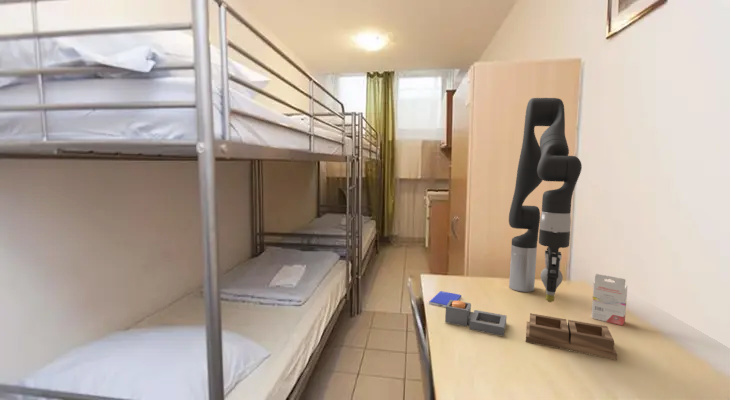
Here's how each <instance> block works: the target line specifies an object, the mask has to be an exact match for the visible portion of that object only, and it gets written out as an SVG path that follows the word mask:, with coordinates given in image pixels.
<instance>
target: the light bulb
mask: <svg viewBox="0 0 730 400" xmlns="http://www.w3.org/2000/svg"><path fill="white" fill-rule="evenodd" d="M550 273H555V270H550ZM558 275H559V277H558V279H557V282H556V290H557V289H558V287H559V286H560V285H561V284H562V283H563V278H564V277H563V276H564V275H563V273H562V271H561V270H559V271H558ZM540 280H541V282H542V284H543V286H544V287H545V300H546V301H547V302H549V303H551V302H554V301H555V295H556V292H549V291H547V269H546V267H544V268H543V269H542V271H541V272H540Z"/></svg>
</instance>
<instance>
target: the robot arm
mask: <svg viewBox="0 0 730 400" xmlns="http://www.w3.org/2000/svg"><path fill="white" fill-rule="evenodd" d="M564 105H565V104H564V102H563V100H562V99H561V98H557V97H532V98H530V99H529V100H528V102H527V105H526V109H525V116H524V117H525V118H524V125H523V126H524V127H523V137H522V143H521V149H520V155H519V159H518V165H517V172H516V178H515V188H514V192H513V197H512V200H511V204H510V208H509V214H508V224H509V226H510V227H511V228H513V229H518V230H521V229H522V230H527V231H526V232H524V233H522V234H520V235H517V236H513V237H512V238H511V247H510V248H511V250H510V263H509V264H510V265H509V266H510V267H509V279H508V281H509V283H508V284H509V285H508V287H509V289H511V290H514V291H517V292H525V293H531V292H534V291H535V285H536V284H535V283H536V281H535V280H536V266H537V250H538V249H537V248H538V244H539V245H541V246H544V247H546V249H545V250H544V258H545V259H544V264H545V268H546V269H547V291H549V292H555V293H556V291H557V289H556V282H557V279H558V277H559V275H558V271H559V270H560V269H561V260H562V252H561V251H559V249H561V248H562V249H564V248H569V247H570V240H571V223H572V219H571V212H572V211H571V210H572V209H571V208H572V199H573V198H572V197H573V194H574V191H575V187H576V185H577V182H578V180H579V178H580V176H581V172H582V166H583V165H582V161H581V160H580V159H579V157H578V156H575V155H570V150H569V149H570V148H569V144H568V141H567V138H566V118H565V117H566V115H565V106H564ZM535 127H547V129H545V131H543V133H542V134H541V136H540V139H539V142H538V140H537V137H536V133H535ZM543 181H544V182H557V183H558V182H559V183H560V182H561V183H562V182H563V184H562V185H561V187H559V188H556V189H550V190H546V191H544V192H543V193H542V200H541V210H540V207H538V206H536V205H524V202H525V200H526V199H527V198H528V196H530V194H532V192H533V191H535V190H536V188H538V186H539V185H541V183H542V182H543ZM540 211H541V212H540ZM550 270H555V273H550ZM560 271H561V270H560Z"/></svg>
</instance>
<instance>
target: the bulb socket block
mask: <svg viewBox="0 0 730 400" xmlns="http://www.w3.org/2000/svg"><path fill="white" fill-rule="evenodd" d="M453 301H455V300H450V301H449V303H448V304H447V306H446V307H445V321H444V323H448V324H452V325H457V326H462V327H469V330H471V331H476V332H482V333H485V334H486V333H487V334H491V335H496V336H501V337H504V336H505V330H506V326H507V315H506V314H500V313H494V312H488V311H483V310H478V309H474V310H473V311H471V309H472V303H471V302H465V301H464V302H465V309H462V308H456V307H452V302H453Z"/></svg>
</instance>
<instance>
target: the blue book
mask: <svg viewBox="0 0 730 400" xmlns="http://www.w3.org/2000/svg"><path fill="white" fill-rule="evenodd" d="M461 299H462V294H458V293H453V292H448V291H442V290H441V291H439V292H438V293H436V295H434V297H432V298H431V300H429V301H428V304H429V305H433V306H439V307H442V308H446V306H447V304H448V303H449V301H450V300H455V301H461Z"/></svg>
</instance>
